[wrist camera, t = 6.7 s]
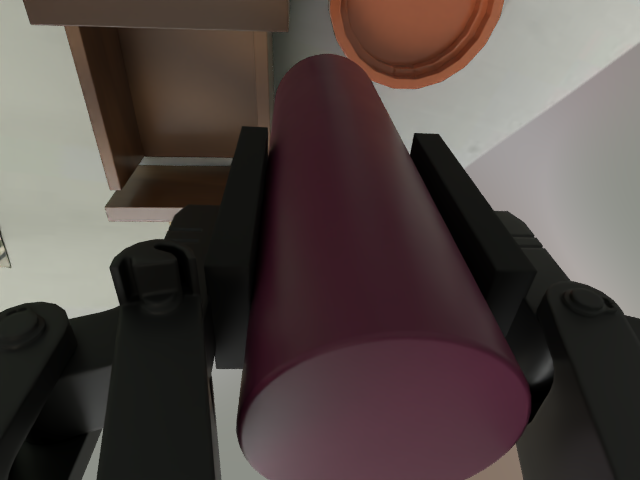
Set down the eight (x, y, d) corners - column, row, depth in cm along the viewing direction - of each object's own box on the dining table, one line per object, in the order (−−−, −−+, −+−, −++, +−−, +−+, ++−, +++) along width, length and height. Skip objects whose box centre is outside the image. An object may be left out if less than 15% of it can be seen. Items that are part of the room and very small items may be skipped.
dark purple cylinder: (274, 50, 17) (225, 334, 5) (383, 56, 18) (585, 336, 5) (274, 153, 20) (242, 507, 8) (369, 156, 20) (485, 501, 8)
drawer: (284, 221, 39) (282, 268, 34) (146, 221, 38) (122, 268, 33) (280, -36, 28) (276, -28, 22) (85, -43, 27) (32, -37, 22)
